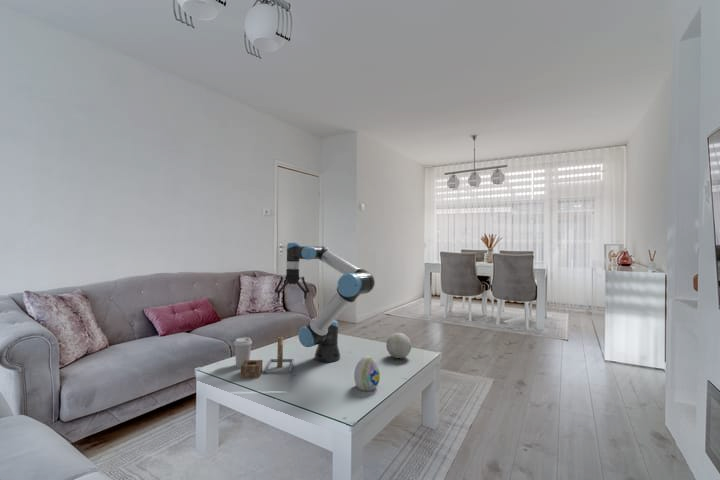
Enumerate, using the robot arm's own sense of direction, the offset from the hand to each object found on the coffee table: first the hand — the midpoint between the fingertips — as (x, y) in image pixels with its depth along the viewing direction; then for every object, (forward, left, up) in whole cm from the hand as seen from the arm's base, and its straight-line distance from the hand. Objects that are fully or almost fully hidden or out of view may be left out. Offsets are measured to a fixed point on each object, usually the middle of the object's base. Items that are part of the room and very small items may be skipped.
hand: (291, 304), depth 206 cm
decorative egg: (-40, +45, -32) cm, 68 cm away
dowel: (+4, +18, -31) cm, 36 cm away
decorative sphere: (-65, +3, -32) cm, 72 cm away
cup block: (+17, +28, -32) cm, 46 cm away
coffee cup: (+24, +15, -32) cm, 43 cm away
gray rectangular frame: (+4, +18, -32) cm, 37 cm away
